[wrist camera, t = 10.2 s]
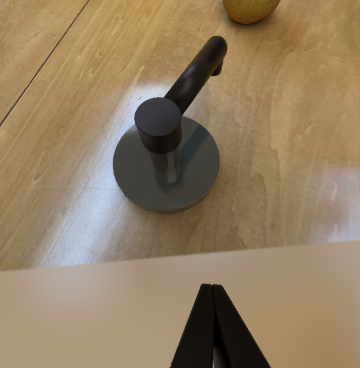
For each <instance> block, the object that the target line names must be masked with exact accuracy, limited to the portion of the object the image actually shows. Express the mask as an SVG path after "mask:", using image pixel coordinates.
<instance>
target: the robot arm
mask: <svg viewBox="0 0 360 368" xmlns="http://www.w3.org/2000/svg"><path fill="white" fill-rule="evenodd" d="M213 361H214V368H271V367H270V366H269V364H268V362H267V360H266V358H265V357H264V355H263V353H262V352H261V350H260V348H259V347H258V345H257V343H256V342H255V340H254V338H253V337H252V335H251V333H250V332H249V330H248V328H247V327H246V325H245V323H244V321H243V320H242V318H241V316H240V315H239V313H238V311H237V310H236V308H235V306H234V305H233V303H232V301H231V300H230V298H229V296H228V295H227V293H226V291H225V290H224V288H223V286H221V285H217V284H213V285H212V286H211V284H201V286H200V290H199V292H198V294H197V297H196V300H195V303H194V305H193V308H192V310H191V313H190V316H189V318H188V321H187V324H186V326H185V329H184V332H183V334H182V337H181V340H180V342H179V345H178V347H177V350H176V353H175V355H174V358H173V361H172V363H171V367H170V368H213Z"/></svg>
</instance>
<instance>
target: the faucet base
mask: <svg viewBox="0 0 360 368" xmlns="http://www.w3.org/2000/svg"><path fill="white" fill-rule="evenodd" d="M181 120H182V139H181V142H180V144H179V146H178V147H177V148H176V149H175V150H173V151H172V152H169V153H166V154H155V153H152V152H150V151H149V150H147V149H146V148H145V147H144V145H143V143H142V141H141V138H140V135H139V132H138V130H137V127H136V124H135V125H134V126H132V127H131V128H130V129H129V130H128V131H127V132H126V133H125V134H124V135H123V136H122V138H121V139H120V141H119V142H118V145H117V147H116V149H115V153H114V157H113V171H114V176H115V179H116V181H117V183H118V185H119V187H120V189H121V190H122V191H123V193H124V194H125V195H126V196H127V197H128V198H129V199H130V200H131V201H132V202H133V203H134V204H136V205H137V206H139V207H141V208H143V209H145V210H148V211H151V212H155V213H165V214H168V213H176V212H181V211H184V210H186V209H189V208H191V207H193V206H194V205H196V204H197V203H199V202H200V201H201V200H202V199H203V198H204V197H205V196H206V195H207V194H208V193H209V191H210V190H211V188H212V187H213V185H214V182H215V180H216V177H217V174H218V170H219V152H218V148H217V145H216V143H215V141H214V139H213V137H212V136H211V134H210V133H209V132H208V131H207V130H206V129H205V128H204V127H203V126H202V125H200V124H199V123H197V122H196V121H194V120H192V119H190V118H187V117H184V116H182V117H181Z"/></svg>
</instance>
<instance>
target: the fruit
mask: <svg viewBox="0 0 360 368" xmlns="http://www.w3.org/2000/svg"><path fill="white" fill-rule="evenodd" d="M279 2H280V0H223V5H224V8H225V10H226V12H227V14H228V15H229V16H230V17H231V18H232V19H233V20H235V21H237V22H239V23H242V24H249V23H253V22H256V21H258V20H260V19H262V18H264V17H266V16H268V15H269V14H270V13H272V12H273V10H274V9H275V8H276V7H277V5H278V4H279Z"/></svg>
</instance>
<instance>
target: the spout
mask: <svg viewBox="0 0 360 368" xmlns="http://www.w3.org/2000/svg"><path fill="white" fill-rule="evenodd" d="M226 53H227V43H226V41H225V39H224V38H222V37H221V36H213V37H211V38H210V39H209V40H208V41H207V42H206V44H205V45H204V46H203V48H202V49H201V50H200V51H199V53H198V54H197V55H196V57H195V58H194V59H193V60H192V62H191V63H190V64H189V66H188V67H187V68H186V69H185V71H184V72H183V73H182V75H181V76H180V77H179V78H178V80H177V81H176V82H175V84H174V85H173V86H172V87H171V89H170V90H169V91H168V93H167V94H166V95H165V96H164V98H161V97H157V98H152V99H149V100H146V101H145V102H143V103H142V104H141V105H140V106H139V107H138V108H137V110H136V113H135V118H134V119H135V124H136V127H137V130H138V132H139V135H140V138H141V141H142V143H143V145H144V147H145V148H146V149H147V150H149V151H150V152H152V153H155V154H166V153H169V152H172V151H173V150H175V149H176V148H177V147H178V146H179V144H180V142H181V139H182V120H181V117H182V115H183V114H184V112H185V111H186V110H187V108H188V107H189V105H190V104H191V103H192V101H193V100H194V98H195V97H196V96H197V94H198V93H199V91H200V90H201V89H202V87H203V86H204V85H205V83H206V82H207V80H208V79H209V78H210V76H217V75H219V74H220V73H221V70H222V65H223V59H224V57H225V55H226Z"/></svg>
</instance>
